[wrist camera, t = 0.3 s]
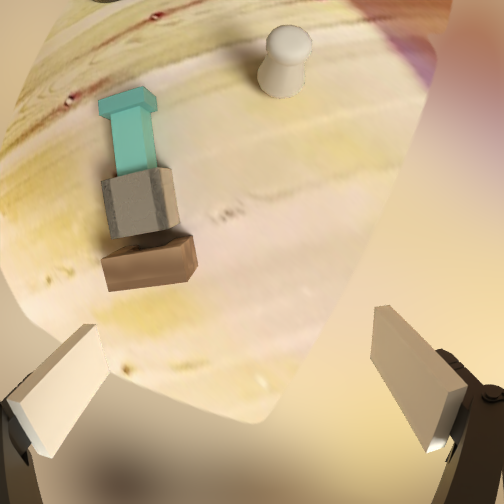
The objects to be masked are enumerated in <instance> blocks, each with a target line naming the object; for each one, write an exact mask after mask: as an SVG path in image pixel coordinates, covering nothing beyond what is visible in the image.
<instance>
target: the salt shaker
mask: <svg viewBox="0 0 504 504" xmlns="http://www.w3.org/2000/svg"><path fill="white" fill-rule="evenodd" d="M266 50H267V52H268V54H267V56H266V57H265V59H264V61H263V62H262V64H261V65H260V67H259V69H258V72H257V80H258V83H259V85H260V87H261V89H262V90H263V91H264V92H266V93H267V94H268V95H269V96H272V97H275V98H279V99H283V98H290V97H292V96H294V95H295V94H297V93H299V92H300V91H301V89H302V87H303V85H304V84H305V65H304V62H305V61H306V60H307V59H308V57H309V55H310V54H311V52H312V40H311V38H310V36H309V35H308V33H307V32H306V31H304V30H303V29H302V28H300V27H297V26H293V25H281V26H279V27H277V28H275V29H273V30H272V31H271V33H270V34H269V36H268V37H267V39H266Z"/></svg>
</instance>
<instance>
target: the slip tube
mask: <svg viewBox="0 0 504 504" xmlns="http://www.w3.org/2000/svg"><path fill="white" fill-rule="evenodd" d="M98 107H99V116H102V117H104V118H107V119H109V120H111V126H112V136H113V145H114V154H115V161H116V169H117V176H118V177H119V176H123V175H127V174H131V173H135V172H139V171H144V170H148V169H152V168H157V160H156V153H155V146H154V138H153V130H152V122H151V112H155V111H158V110H157V101H156V97H155V96H154V95H153V94H152V93H151V92H149V91H148V90H147V89H146V88H145V87H143V86H142V87H138V88H135V89H132V90H128V91H125V92H122V93H119V94H116V95H113V96H110V97H107V98H104V99H101V100H98Z"/></svg>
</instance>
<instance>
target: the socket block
mask: <svg viewBox="0 0 504 504" xmlns="http://www.w3.org/2000/svg"><path fill="white" fill-rule="evenodd" d="M101 263H102V267H103V271H104V275H105V279H106V283H107V287H108V291H109V292H112V291H120V290H128V289H136V288H144V287H152V286H160V285H168V284H175V283H183V282H188V280H189V279H190V277H191V276H192V274H193V273H194V271H195V270H196V268H197V267H198V262H197V257H196V252H195V246H194V241H193V236H188V237H182V238H176V239H174V240H172V241H171V242H169V243H168V244H167V245H165V246H161V247H155V248H149V249H143V250H140V248H139V245H134V246H128V247H123V248H121V249H119V250H117V251H115V252H114V253H112V254H110V255H108V256H106V257H104V258H102V259H101Z"/></svg>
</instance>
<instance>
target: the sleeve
mask: <svg viewBox="0 0 504 504" xmlns="http://www.w3.org/2000/svg"><path fill="white" fill-rule="evenodd" d="M101 184H102V191H103V197H104V203H105V209H106V215H107V220H108V225H109V230H110V235H111V239H117V238H122V237H127V236H133V235H138V234H143V233H149V232H155V231H160V230H166V229H170V228H172V227H173V226H175V225H177V224H179V223H180V219H179V213H178V207H177V201H176V195H175V189H174V183H173V177H172V170H171V169H167V168H161V167H157V168H152V169H148V170H144V171H139V172H135V173H131V174H127V175H123V176H119V177H115V178H111V179H108V180H104V181H101Z"/></svg>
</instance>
